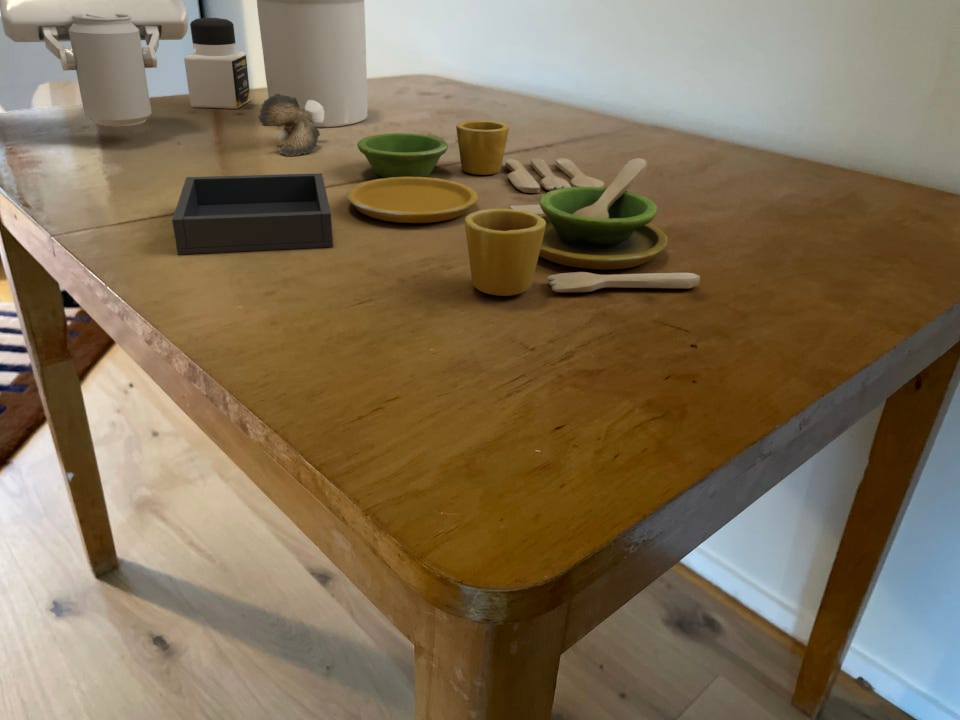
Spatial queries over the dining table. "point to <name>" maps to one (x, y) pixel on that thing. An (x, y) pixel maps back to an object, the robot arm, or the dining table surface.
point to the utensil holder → (317, 55)
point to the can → (110, 70)
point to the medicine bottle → (216, 66)
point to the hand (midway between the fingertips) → (111, 66)
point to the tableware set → (519, 213)
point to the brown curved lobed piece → (293, 122)
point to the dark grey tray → (252, 213)
